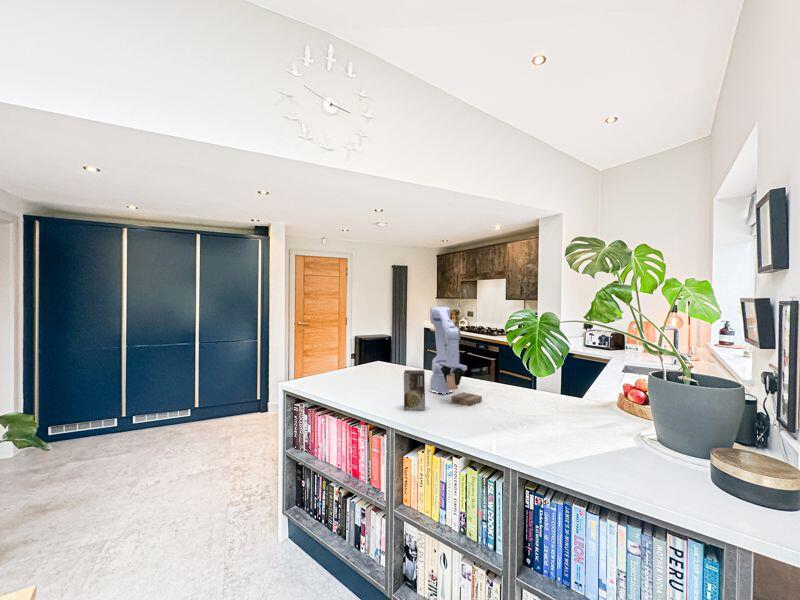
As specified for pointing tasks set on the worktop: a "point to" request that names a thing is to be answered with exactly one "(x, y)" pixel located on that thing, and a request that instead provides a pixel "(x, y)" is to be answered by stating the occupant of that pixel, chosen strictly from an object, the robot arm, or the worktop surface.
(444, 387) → the robot arm
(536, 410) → the worktop surface
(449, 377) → the terracotta cylinder
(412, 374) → the coffee box
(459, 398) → the walnut base
